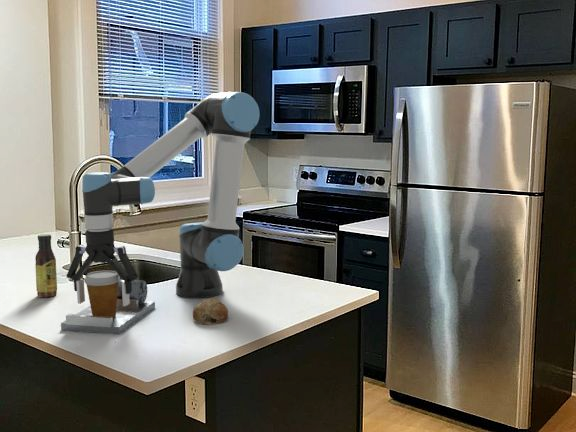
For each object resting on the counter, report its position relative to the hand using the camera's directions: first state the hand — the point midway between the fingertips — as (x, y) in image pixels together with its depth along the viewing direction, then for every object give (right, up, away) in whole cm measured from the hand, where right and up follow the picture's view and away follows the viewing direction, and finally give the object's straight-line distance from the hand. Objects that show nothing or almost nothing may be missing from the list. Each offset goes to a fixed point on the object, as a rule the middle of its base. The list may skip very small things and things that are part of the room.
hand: (103, 303), depth 182 cm
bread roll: (+29, -5, +4) cm, 30 cm away
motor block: (+1, -5, +5) cm, 7 cm away
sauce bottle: (-26, -1, +28) cm, 38 cm away
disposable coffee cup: (0, -4, 0) cm, 4 cm away
